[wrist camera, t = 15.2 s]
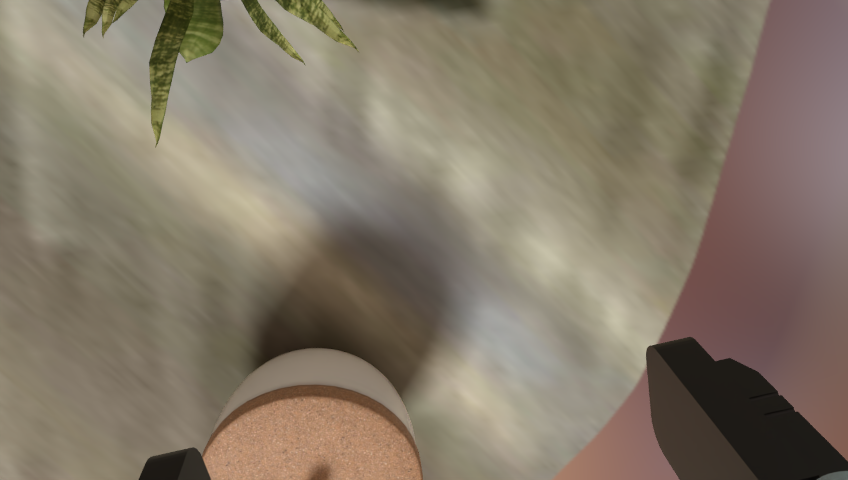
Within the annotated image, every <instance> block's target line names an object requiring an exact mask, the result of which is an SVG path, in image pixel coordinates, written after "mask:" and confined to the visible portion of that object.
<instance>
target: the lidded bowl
mask: <svg viewBox="0 0 848 480" xmlns="http://www.w3.org/2000/svg"><path fill="white" fill-rule="evenodd" d="M202 458H203V461H204V463H205V465H206V468H207V470H208V473H209V475H210V478H211V480H423V475H422V467H421V462H420V456H419V452H418V449H417V447H416V442H415V437H414V432H413V427H412V424H411V421H410V418H409V415H408V413H407V410H406V408H405V405H404V403H403V401H402V399H401V398H400V396H399V394H398V393H397V391H396V389H395V388H394V386H393V385H392V384H391V383H390V381H389V380H388V379H387V378H386V377H385V376H384V375H383V374H382V373H381V372H380V371H379V370H377V369H376V368H375V367H374V366H373V365H371V364H370V363H368V362H366V361H365V360H363V359H361V358H359V357H357V356H354V355H352V354H349V353H347V352H343V351H338V350H334V349H326V348H308V349H301V350H296V351H291V352H288V353H285V354H282V355H279V356H277V357H275V358H273V359H271V360H269V361H267V362H266V363H265V364H263V365H262V366H260V367H259V368H257V369H256V370H254V371H253V372H252V373H251V374H250V375H249V376H248V377H246V378H245V379H244V380H243V381H242V382H241V384H240V385H239V386H238V388H237V389H236V390H235V391H234V393H233V394H232V395H231V397H230V398H229V400H228V401H227V403H226V405H225V406H224V408H223V410H222V412H221V414H220V416H219V418H218V420H217V422H216V424H215V427H214V430H213V432H212V435H211V437H210V439H209V441H208V443H207V445H206V447H205V450H204V452H203V455H202Z"/></svg>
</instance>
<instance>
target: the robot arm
mask: <svg viewBox="0 0 848 480" xmlns="http://www.w3.org/2000/svg"><path fill="white" fill-rule="evenodd" d="M646 361H647V373H648V383H649V395H650V406H651V417H652V424H653V428H654V432H655V435H656V438H657V441H658V443H659V446H660V448H661V450H662V452H663V454H664V455H665V457H666V459H667V460H668V462H669V463H670V465H671V466H672V468H673V470H674V471H675V473H676V474H677V476H678V477H679V479H680V480H848V461H847V460H845V458H844V457H843V456H842V455H841V454H840V453H839V452H838V451H837V450H836V449H835V448H834V447H832V445H831V444H830V443H829V442H828V441H827V440H826V439H825V438H824V437H823V436H821V434H820V433H819V432H818V431H817V430H816V429H815V428H814V427H813V426H812V425H810V423H809V422H808V421H807V420H806V419H805V418H804V417H803V416H802V415H800V413H799V412H795V411H794V407H793V406H792V405H791V404H790V403H788V401H787V400H786V399H784V397H783V396H781V395H780V396H779V395H778V391H777V390H776V389H775V388H774V387H773V386H772V385H771V384H770V383H769V382H768V381H767V380H766V379H765V378H764V377H763V376H762V375H761V374H760V373H759V372H757V371H755V370H753V369H751V368H749V367H747V366H745V365H743V364H741V363H739V362H737V361H735V360H733V359H731V358H728V359H724V360H719V361H714V360H713V359H712V357H711V356H710V355H709V354H708V353H707V352H706V351H705V350H704V349H703V348H702V347H701V346H700V344H699V343H698V342H697V341H696V340H695V339H694V338H692V337H688V338H683V339H679V340H674V341H670V342H665V343H661V344H656V345H652V346H649V347H648V348H647V351H646ZM139 480H211V478H210V475H209V473H208V470H207V468H206V465H205V463H204V461H203V458H202V456H201V454H200V452H199V451H198V450H197V449H196V448H188V449H184V450H179V451H175V452H170V453H166V454H162V455H157V456H153V457H150V458H149V459H148V460H147V462H146V464H145V466H144V468H143V471H142V473H141V475H140V478H139Z"/></svg>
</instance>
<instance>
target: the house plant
mask: <svg viewBox="0 0 848 480" xmlns="http://www.w3.org/2000/svg"><path fill="white" fill-rule="evenodd" d="M137 1H138V0H89V2H88V5H87V8H86V17H85V22H84V27H83V37H84V34H85V32H86V31H88V30H89V29H90V28H91V27H93V26H94V25H95V24H96V23H97V22H98V20H99V18H100V16H101V15H102V36H103V35H104V34H105V32H106V31H107V29H108V28H109V27H110V25H111V23H113V22H115V21H116V20H118V19H119V18H120V17H121V16H122V15H123V14H124V13H125V12H126V11H127V10H128V9H130V8H131V7H132V6H133V5H134V4H135V3H136V2H137ZM220 1H221V0H164V9H165V12H166V13H165V16H164V19H163V21H162V24H161V26H160V29H159V32H158V34H157V37H156V40H155V43H154V47H153V51H152V54H151V58H150V62H149V67H150V86H151V95H152V102H151V124H152V127H153V131H154V134H155V138H156V142H157V143H156V146H157V144H158V141H159V138H160V134H161V129H162V123H163V120H164V116H165V111H166V105H167V99H168V94H169V90H170V86H171V82H172V77H173V72H174V68H175V63H176V60H177V56H178V53H179V52H180V54H181V55H182V56H183V57H184V59H185V60H186V63H187V62H189V61H191V60H193V59H196V58H198V57H201V56H204V55H207V54H210V53H212V52H213V51H214V50H215V49H216V48H217V46H218V45H219V44H220V41H221V39H222V36H223V18H222V11H221V3H220ZM241 1H242V2H243V4H244V6H245V8H246V10H247V11H248V13H249V15H250V17H251V18H252V20H253V21H254V23H255V24H256V26H257V27H258V28H259V30H260V31H261V32H262V33H263V34H264V35H266V36H267V37H268V38H269V39H270V40H272V41H273V42H275V43H276V44H277V45H279V46H280V47H281V48H282V49H283V50H284V51H285V52H286V53H288V54H289V55H290V56H291V57H293V58H295V59H297V60H299V61H301V62H303V60H302V59H301V57H300V56H299V55H298V54H297V53H296V51H295V50H294V49H293V47H292V46H291V45H290V43H289V42H288V41H287V40H286V39H285V38H284V36H283V35H282V34H281V32H280V31H279V30H278V29H277V27H276V26H275V25H274V23H273V22H272V21H271V20H270V18H269V17H268V16H267V14H266V13H265V12H264V10H263V9H262V8H261V6H260V4H259V3H258V1H257V0H241ZM276 1H277V2H278V3H279V4H280V5H281V6H282V7H283V8H284V9H285V10H286V11H288V12H290V13H292V14H293V15H295V16H297V17H299V18H301V19H303V20H305V21H306V22H308V23H310V24H312V25H314V26H316V27H317V28H318V29H320V30H321V31H322V32H324V33H325V34H326V35H328V36H329V37H331V38H332V39H334V40H335V41H337V42H339V43H342V44H345V45H348V46H351V47H353V48H355V49H356V50H357V48H356V47H355V45H354V44H353V43H352V41H351V40H350V39H349V38H348V37H347V36H346V35H345V34H344V33H343V32H344V31H343V32H342V31H341V30H340V29H339V28H341V29H342V27H341V25H340V24H339V22H338V21H337V20H336V18H335V17H334V16H333V14H332V13H331V11H330V10H329V9H328V7H327V6H326V5H325V4H324V3H323V1H322V0H276ZM116 10H117V11H116ZM115 11H116V14H115ZM114 14H115V17H114ZM113 17H114V20H113ZM112 20H113V22H112ZM338 27H339V28H338ZM342 30H343V29H342ZM357 51H358V50H357ZM303 63H304V62H303ZM304 64H305V63H304ZM305 66H306V65H305ZM155 148H156V147H155Z"/></svg>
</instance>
